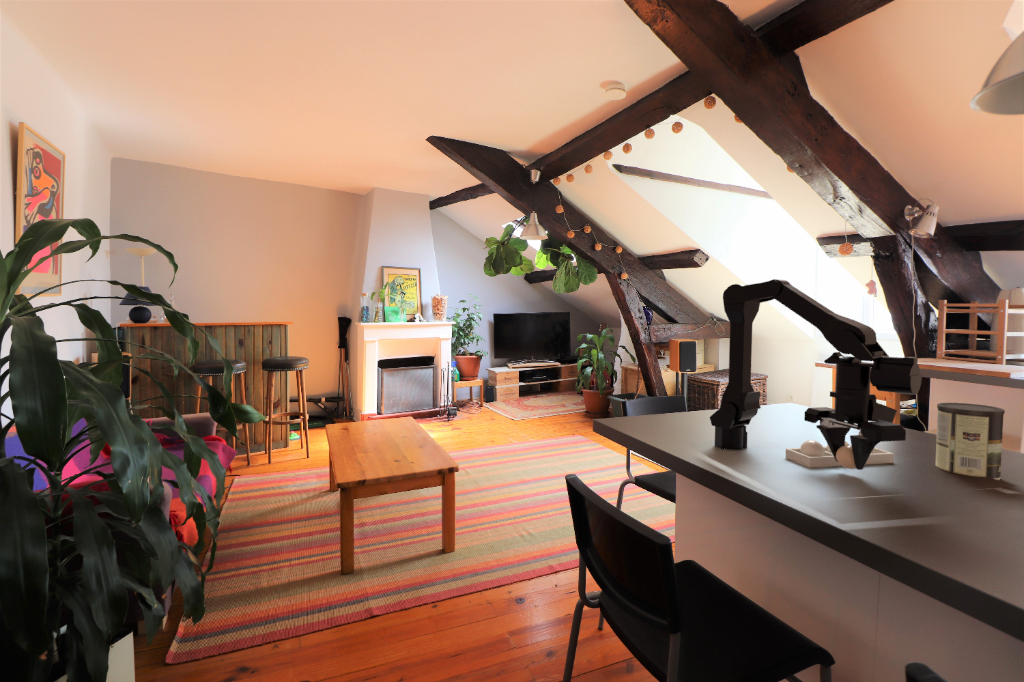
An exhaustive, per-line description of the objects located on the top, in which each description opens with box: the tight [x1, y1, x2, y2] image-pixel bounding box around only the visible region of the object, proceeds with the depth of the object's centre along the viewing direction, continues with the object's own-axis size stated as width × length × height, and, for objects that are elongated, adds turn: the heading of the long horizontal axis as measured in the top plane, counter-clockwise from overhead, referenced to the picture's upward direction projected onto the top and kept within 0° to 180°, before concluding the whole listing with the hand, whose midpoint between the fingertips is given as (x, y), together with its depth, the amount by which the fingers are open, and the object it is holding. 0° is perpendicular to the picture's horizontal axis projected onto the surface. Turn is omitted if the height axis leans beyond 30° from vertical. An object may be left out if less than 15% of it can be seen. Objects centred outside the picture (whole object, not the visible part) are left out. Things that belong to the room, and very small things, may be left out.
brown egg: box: [836, 444, 856, 470], centre depth 101 cm, size 5×5×5 cm
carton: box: [785, 446, 895, 468], centre depth 111 cm, size 20×7×3 cm, turn 100°
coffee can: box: [935, 402, 1006, 481], centre depth 104 cm, size 10×10×14 cm
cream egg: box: [799, 439, 825, 457], centre depth 110 cm, size 5×5×5 cm
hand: (849, 465), depth 101 cm, fingers closed on brown egg, 4 cm apart
